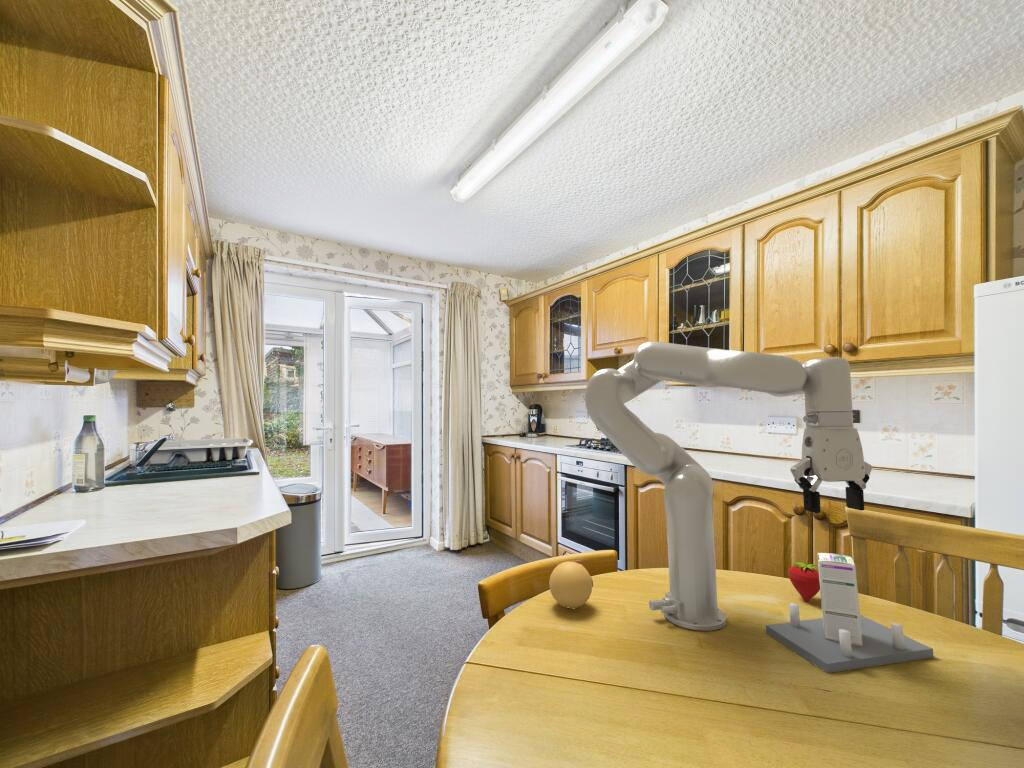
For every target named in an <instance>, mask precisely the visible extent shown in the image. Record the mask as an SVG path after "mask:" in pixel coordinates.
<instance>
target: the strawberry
mask: <svg viewBox="0 0 1024 768" xmlns="http://www.w3.org/2000/svg"><path fill="white" fill-rule="evenodd" d="M808 558H809V557H808V556H806V560H805V563H804V562H799V561H798V562H797V561H793V563H794V564H793V565H792V566H790V567H789V568H788V573H787V575H788V577H789V580H790V582H791V584H792V586H793V587H794V588H795V590H796V592H797V594H799V595H800V596H801V598H802V600H804V601H806V602H808V601H811V600H812V599H813V598H814V597H815V596H817V594H818V593H820V581H819V568H818V564H813V563H812V564H810V563H809V564H807V561H808Z"/></svg>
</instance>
